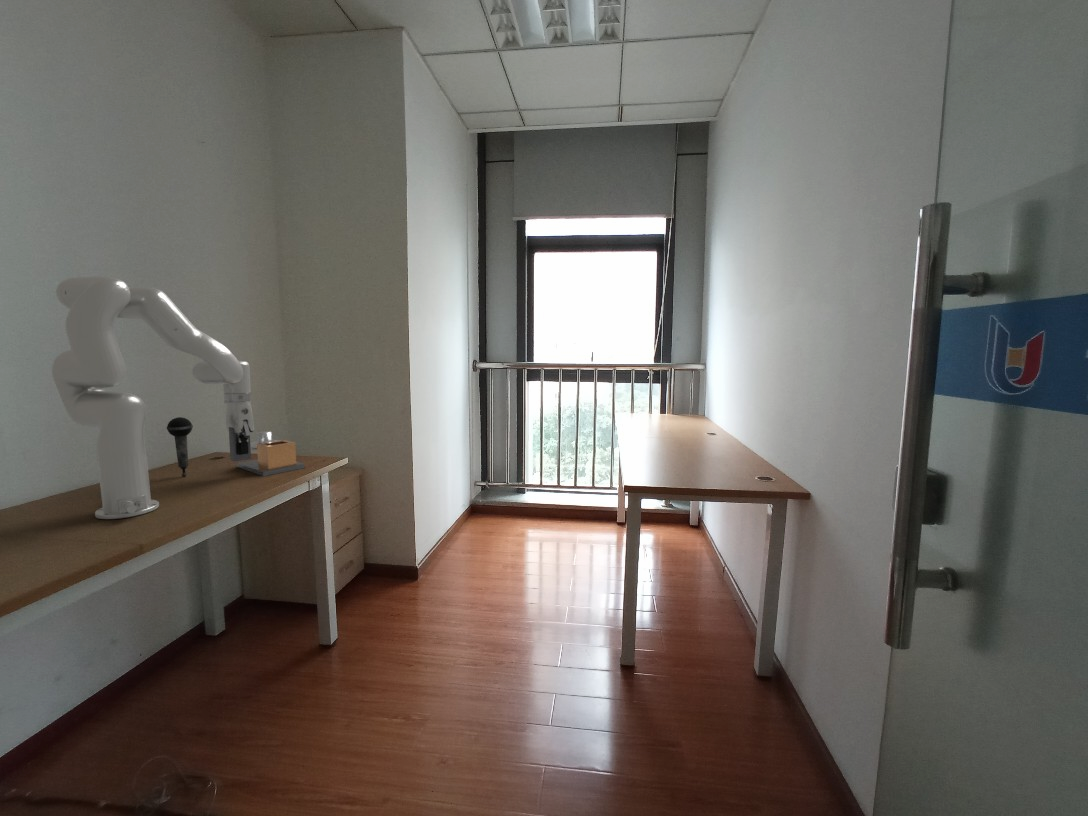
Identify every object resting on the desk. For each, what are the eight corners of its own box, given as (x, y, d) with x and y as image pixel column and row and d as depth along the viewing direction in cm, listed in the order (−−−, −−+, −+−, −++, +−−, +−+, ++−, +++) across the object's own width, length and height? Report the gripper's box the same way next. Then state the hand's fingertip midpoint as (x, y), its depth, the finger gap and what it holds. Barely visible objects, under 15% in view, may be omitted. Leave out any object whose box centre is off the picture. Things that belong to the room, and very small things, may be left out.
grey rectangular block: (251, 458, 157) (249, 426, 156) (234, 461, 153) (232, 428, 152) (246, 457, 159) (245, 425, 158) (230, 460, 155) (228, 427, 154)
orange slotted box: (304, 467, 169) (302, 433, 167) (263, 476, 158) (261, 439, 156) (277, 459, 181) (275, 427, 179) (237, 467, 169) (234, 433, 168)
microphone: (198, 472, 161) (193, 415, 158) (195, 477, 155) (190, 418, 153) (172, 475, 157) (167, 416, 155) (169, 480, 152) (163, 419, 149)
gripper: (261, 399, 152) (263, 454, 154) (239, 396, 162) (241, 448, 163) (235, 400, 146) (238, 458, 148) (214, 397, 155) (217, 452, 157)
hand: (240, 452), depth 156 cm, fingers closed on grey rectangular block, 3 cm apart
